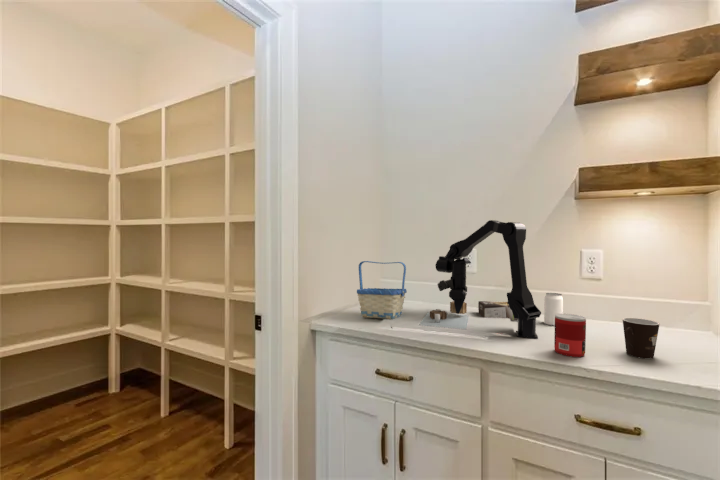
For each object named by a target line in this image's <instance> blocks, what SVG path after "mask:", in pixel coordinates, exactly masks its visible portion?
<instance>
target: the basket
mask: <svg viewBox="0 0 720 480" xmlns="http://www.w3.org/2000/svg"><path fill="white" fill-rule="evenodd" d="M364 263H371V264H384V265H386V264H387V265H388V264H390V262H378V261H369V260H364V261H360V262H359V264H358V277H359V281H358V282H359V289H356V294H357V297H358V302H359V306H360V307H359V309H360V314H361V318H368V319H369V318H371V319H380V320H381V319H384V320H385V319H388V320H393V319H396V318H399V317H401V316H402V313H403V312H402V310H403V306H404V303H405V302H404V301H405V299H406V293H407V288H405V281H406V280H405V279H406V273H407V266H406V264H405V263H404V262H402V261H397V262H395V261H394V262H391V264H401V265H402V266H403V274H402V283H401V288H376V287H374V288H369V287H368V288H363V276H362V265H363V264H364Z"/></svg>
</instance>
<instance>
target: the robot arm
mask: <svg viewBox="0 0 720 480" xmlns="http://www.w3.org/2000/svg"><path fill="white" fill-rule="evenodd" d="M494 233H496V234H500V235H502V238H503V242H505V245H506V246H507V248H508V257H509V266H510V268H509V269H510V274H511V287H512V288H511V291H509V292H507V293H506V297H507V302H508V303H507V304H509V307H510V309H511V310H512V312H513V316H514V318H517V319H518V321H517V330H515V334H516V336H517V337H518V338H519V337H520V338H527V339H528V338H531V339H538V338H539V336H538V334H537V333H536V332H537V331H536V330H537V326H536V325H537V319H539V318H540V317H541V314H542V311H541V310H540V308H539V307H537V306H536V304H535V302H534V301H535V300H534V298H533V294H532V292H531V291H530V289H529V287H528V283H527V273H526V264H525V253H524V245H525V241H526V239H527V227H526V225H525V224H523V223H522V222H517V221H516V222H513V221H510V222H509V221H508V222H502V221H499V220H496V219H495V220H493V219H492V220H491V219H490V220H488V221H487V222H485V224H483V225H481V226H480V228H478V229H476V231H474V232H473V233H471V234H470V235H469V236H467V237H466V238H464V239H462V240H458V241H456V242H454V243H452V244H451V245H450V246H449V250H448V251H447V253H446V254H445V256H443V255H441V256H438V259H437V260H436V262H435V270H436V271H437V272H439V273H448V274H450V273H451V276H450V279H448V280H444V279H443V280H440V281H439V282H438V283H437V288H438V290H439V292H442V291H445V290H448V289H450V291H448V297H449V298H450V299H451V300H452V301H454V304H455V309H456V313H455V314H457V313H460V310H461V308H462V305H463V303H464V302H465V300H466V298H467V297H466V296H467V293H468V286H467V264H468V265H469V264H472V262H471V260H470V259H469V258H468V255H470V254H471V253H472V251H473V249H474V248H475V247H476V246H477V245H479V244H480V243H482V242H483V241H484V240H486V239H487V238H489V236H492V235H493V234H494Z"/></svg>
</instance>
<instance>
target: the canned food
mask: <svg viewBox="0 0 720 480" xmlns="http://www.w3.org/2000/svg"><path fill="white" fill-rule="evenodd" d="M586 333H587V318H586V317H585V316H583V315H578V314H572V313H563V314H556V315H555V326H554V342H553V343H554V346H553V348H554V351H555V353H557V354H559V355H561V354H562V355H561V356H565V355H566V357H570V356H572V358H581V356H582V357H584V356H585V354H586V336H587V334H586Z"/></svg>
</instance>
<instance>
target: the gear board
mask: <svg viewBox="0 0 720 480" xmlns="http://www.w3.org/2000/svg"><path fill="white" fill-rule="evenodd" d="M468 322H469V315H468V314H457V313H447V319H444V320H442V319H440V314H435V319H431V318H430V311H427V313H426V314H425V315H424V317H423V318H422V320H421V321H420V323H418V326H422V327H423V326H424V327H435V328H444V329H445V328H446V329H447V328H448V329H457V330H467V328H468Z"/></svg>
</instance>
